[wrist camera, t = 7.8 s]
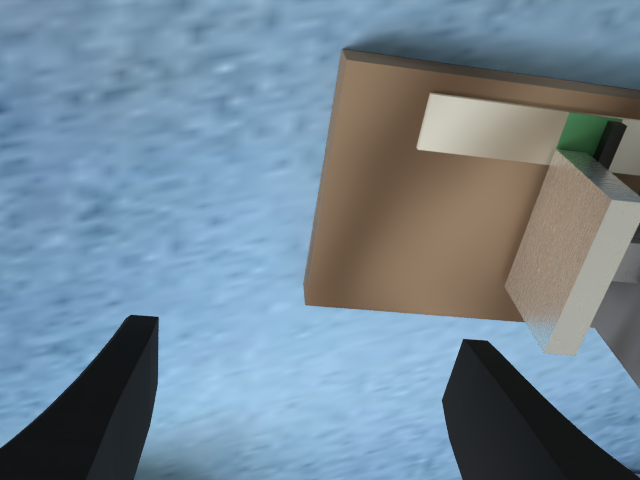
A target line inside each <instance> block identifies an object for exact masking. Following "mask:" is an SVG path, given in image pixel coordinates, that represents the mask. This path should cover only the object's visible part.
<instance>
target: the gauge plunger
mask: <svg viewBox="0 0 640 480" xmlns="http://www.w3.org/2000/svg"><path fill="white" fill-rule="evenodd" d="M626 128H627V126H626V125H625V124H623V123H622V122H616V121H609V120H608V122H607V124H606V126H605V129H604V131H603V134H602V136H601V139H600V141H599V144H598V146H597V148H596V151H595V153H594V156H593V157H592V156H590V155H589V154H588V153H585V152H577V151H569V150H560V149H556V150H555V153H554V155H553V158H552V161H551V163H550V166H549V169H548V171H547V174H546V177H545V180H544V182H543V185H542V188H541V190H540V193H539V196H538V198H537V201H536V204H535V206H534V209H533V212H532V214H531V217H530V220H529V222H528V225H527V228H526V230H525V233H524V236H523V238H522V241H521V244H520V246H519V249H518V252H517V254H516V257H515V260H514V262H513V265H512V268H511V270H510V273H509V276H508V279H507V281H506V284H505V288H506V290H507V292H508V294H509V295H510V297H511V299H512V300H513V302H514V304H515V305H516V307H517V309H518V311H519V312H520V314H521V316H522V317H523V319H524V321H525V322H526V324H527V326H528V328H529V329H530V331H531V333H532V334H533V336H534V338H535V339H536V341H537V343H538V345H539V346H540V348H541V350H542V351H543V353H547V354H562V355H576V354H577V352H578V349H579V347H580V345H581V343H582V341H583V339H584V337H585V335H586V333H587V331H588V329H589V327H590V325H591V323H592V320H593V318H594V316H595V314H596V312H597V310H598V308H599V306H600V304H601V302H602V300H603V298H604V296H605V293H606V291H607V289H608V287H609V285H610V283H611V281H617V282H628V283H639V284H640V224H639V223H640V196H639V195H637V194H636V193H635V192H634V191H633V190H631V189H630V188H629V187H628V186H627V185H625V184H624V183H623V182H622V181H621V180H619V179H618V178H617V177H616V176H615V175H613V174H612V173H611V172H610V171H609V168H610V165H611V163H612V161H613V158H614V156H615V154H616V151H617V149H618V147H619V144H620V142H621V140H622V137H623V135H624V133H625V130H626Z"/></svg>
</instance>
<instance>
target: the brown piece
mask: <svg viewBox="0 0 640 480" xmlns="http://www.w3.org/2000/svg"><path fill="white" fill-rule="evenodd" d="M608 120H609V121H616V122H622V123H623V124H625V125H626V126H627V128H626V130H625V133H624V135H623V137H622V140H621V142H620V144H619V147H618V149H617V151H616V154H615V156H614V158H613V161H612V163H611V165H610V168H609V171H610V172H611V173H612V174H613V175H615V176H616V177H617V178H618V179H619V180H621V181H622V182H623V183H624V184H625V185H627V186H628V187H629V188H630V189H631V190H633V191H634V192H635V193H636V194H637V195H639V196H640V90H633V89H626V88H618V87H611V86H604V85H597V84H590V83H582V82H575V81H568V80H561V79H554V78H546V77H539V76H532V75H525V74H518V73H510V72H503V71H496V70H489V69H482V68H474V67H467V66H460V65H453V64H446V63H438V62H431V61H424V60H417V59H410V58H402V57H395V56H388V55H381V54H374V53H366V52H359V51H352V50H345V49H342V52H341V58H340V64H339V70H338V77H337V83H336V89H335V95H334V101H333V107H332V113H331V119H330V125H329V131H328V138H327V144H326V150H325V156H324V162H323V168H322V174H321V180H320V186H319V192H318V198H317V205H316V211H315V217H314V223H313V229H312V235H311V241H310V247H309V253H308V259H307V266H306V272H305V278H304V284H303V285H304V297H305V305H310V306H323V307H336V308H349V309H361V310H374V311H387V312H400V313H413V314H426V315H439V316H452V317H464V318H477V319H490V320H503V321H516V322H525V321H524V319H523V317H522V316H521V314H520V312H519V311H518V309H517V307H516V305H515V304H514V302H513V300H512V299H511V297H510V295H509V294H508V292H507V290H506V288H505V284H506V281H507V279H508V276H509V273H510V270H511V268H512V265H513V262H514V260H515V257H516V254H517V252H518V249H519V246H520V244H521V241H522V238H523V236H524V233H525V230H526V228H527V225H528V222H529V220H530V217H531V214H532V212H533V209H534V206H535V204H536V201H537V198H538V196H539V193H540V190H541V188H542V185H543V182H544V180H545V177H546V174H547V171H548V169H549V166H550V163H551V161H552V158H553V155H554V153H555V150H556V149H560V150H569V151H577V152H585V153H588V154H589V155H590V156H592V157H593V156H594V153H595V151H596V148H597V146H598V144H599V141H600V139H601V136H602V134H603V131H604V129H605V126H606V124H607V122H608ZM639 224H640V223H639ZM590 327H593V328H595V329H596V330H597V332H598V333H599V334H600V336H601V337H602V338H603V340H604V341H605V342H606V344H607V345H608V347H609V348H610V349H611V351H612V352H613V353H614V355H615V356H616V357H617V359H618V360H619V361H620V363H621V364H622V365H623V367H624V368H625V370H626V371H627V372H628V374H629V375H630V376H631V378H632V379H633V380H634V382H635V383H636V384H637V386H638V387H639V388H640V284H639V283H628V282H617V281H611V283H610V285H609V287H608V289H607V291H606V293H605V296H604V298H603V300H602V302H601V304H600V306H599V308H598V310H597V312H596V314H595V316H594V318H593V320H592V323H591V325H590Z"/></svg>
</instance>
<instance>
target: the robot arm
mask: <svg viewBox="0 0 640 480" xmlns="http://www.w3.org/2000/svg"><path fill="white" fill-rule="evenodd" d="M158 326H159V317H153V316H139V315H130V316H129V317H127V318H126V319H125V320H124V322H123V323H122V325H121V326H120V327H119V329H118V330H117V331H116V333H115V334H114V335H113V337H112V338H111V339H110V341H109V342H108V343H107V344H106V346H105V347H104V348H103V349H102V350H101V352H100V353H99V354H98V355H97V356H96V358H95V359H94V360H93V361H92V362H91V363H90V364H89V365H88V367H87V368H86V369H85V370H84V371H83V372H82V373H81V374H80V376H79V377H78V378H77V379H76V380H75V381H74V382H73V383H72V384H71V385H70V386H69V387H68V388H67V389H66V390H65V391H64V392H63V393H62V394H61V395H60V396H59V397H58V398H57V399H56V400H55V401H54V402H53V403H52V404H51V405H50V406H49V407H48V408H47V409H46V410H45V411H44V412H43V413H41V414H40V415H39V416H38V417H37V418H36V419H35V420H34V421H33V422H32V423H30V424H29V425H28V426H27V427H26V428H25V429H23V430H22V431H21V432H20V433H19V434H18V435H16V436H15V437H14V438H13V439H11V440H10V441H9V442H8V443H6V444H5V445H4V446H3V447H1V448H0V480H134V476H135V473H136V470H137V467H138V463H139V460H140V457H141V454H142V450H143V447H144V444H145V440H146V437H147V434H148V430H149V427H150V423H151V418H152V412H153V407H154V402H155V396H156V390H157V385H158ZM442 403H443V409H444V414H445V420H446V425H447V430H448V435H449V439H450V443H451V446H452V449H453V452H454V455H455V458H456V461H457V464H458V467H459V470H460V473H461V476H462V479H463V480H640V474H634V473H633V472H631V471H630V470H629V469H627V468H626V467H625V466H623V465H622V464H621V463H619V462H618V461H617V460H616V459H614V458H613V457H612V456H610V455H609V454H608V453H607V452H605V451H604V450H603V449H601V448H600V447H599V446H598V445H596V444H595V443H594V442H593V441H592V440H590V439H589V438H588V437H587V436H586V435H585V434H583V433H582V432H581V431H580V430H579V429H578V428H577V427H576V426H574V425H573V424H572V423H571V422H570V421H569V420H568V419H567V418H565V417H564V416H563V415H562V414H561V413H560V412H559V411H558V410H557V409H556V408H555V407H554V406H553V405H552V404H551V403H549V402H548V401H547V400H546V399H545V398H544V397H543V396H542V395H541V394H540V393H539V392H538V391H537V390H536V389H535V388H534V387H533V386H532V385H531V384H530V383H529V382H528V381H527V380H526V379H525V378H524V377H523V376H522V375H521V374H520V373H519V372H518V371H517V370H516V369H515V368H514V367H513V366H512V365H511V364H510V362H509V361H508V360H507V359H506V358H505V357H504V356H503V355H502V354H501V353H500V352H499V351H498V350H497V349H496V348H495V347H494V346H492V345H491V344H490V343H489V342H488V341H484V340H470V339H463V341H462V344H461V347H460V350H459V353H458V356H457V359H456V361H455V364H454V367H453V370H452V373H451V376H450V379H449V381H448V384H447V387H446V390H445V393H444V396H443V399H442Z"/></svg>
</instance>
